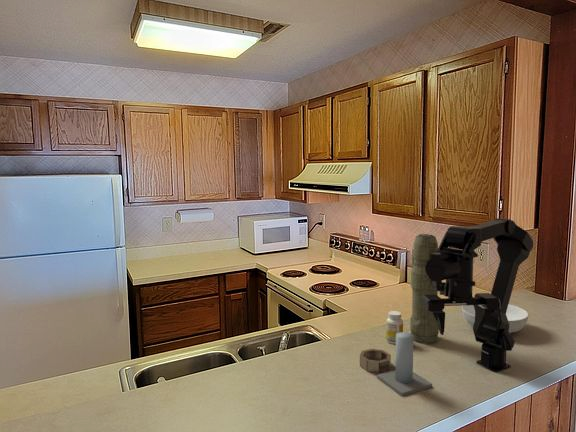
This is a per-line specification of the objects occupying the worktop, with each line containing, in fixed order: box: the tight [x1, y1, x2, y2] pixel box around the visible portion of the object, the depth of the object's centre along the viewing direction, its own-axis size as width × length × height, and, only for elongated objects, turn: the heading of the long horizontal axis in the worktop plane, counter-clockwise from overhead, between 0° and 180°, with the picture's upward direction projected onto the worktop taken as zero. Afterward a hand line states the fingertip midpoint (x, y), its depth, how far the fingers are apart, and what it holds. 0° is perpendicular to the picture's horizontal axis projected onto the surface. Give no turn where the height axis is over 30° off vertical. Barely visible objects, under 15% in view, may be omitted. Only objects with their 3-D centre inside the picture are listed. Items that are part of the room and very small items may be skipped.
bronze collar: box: [359, 348, 392, 374], centre depth 114 cm, size 8×8×3 cm
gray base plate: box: [376, 369, 433, 397], centre depth 104 cm, size 10×10×1 cm
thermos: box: [409, 233, 440, 345], centre depth 130 cm, size 9×12×35 cm
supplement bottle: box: [385, 310, 404, 345], centre depth 130 cm, size 5×5×10 cm
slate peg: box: [395, 331, 414, 384], centre depth 104 cm, size 4×4×12 cm
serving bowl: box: [461, 304, 529, 334], centre depth 139 cm, size 21×21×7 cm
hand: (459, 333), depth 103 cm, fingers open, 9 cm apart
